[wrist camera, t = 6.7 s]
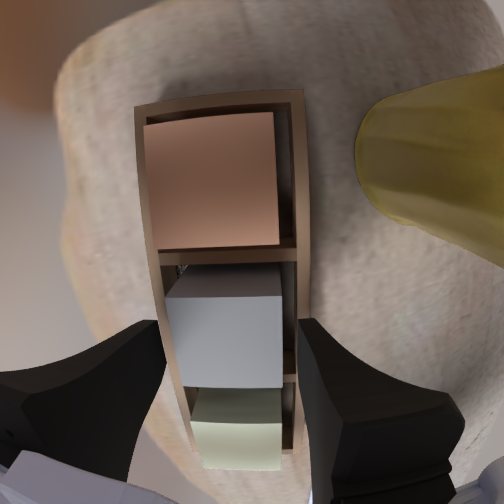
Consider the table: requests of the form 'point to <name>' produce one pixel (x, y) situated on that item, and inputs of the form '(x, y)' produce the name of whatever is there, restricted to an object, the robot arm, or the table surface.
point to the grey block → (228, 325)
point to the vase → (440, 160)
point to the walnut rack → (225, 246)
